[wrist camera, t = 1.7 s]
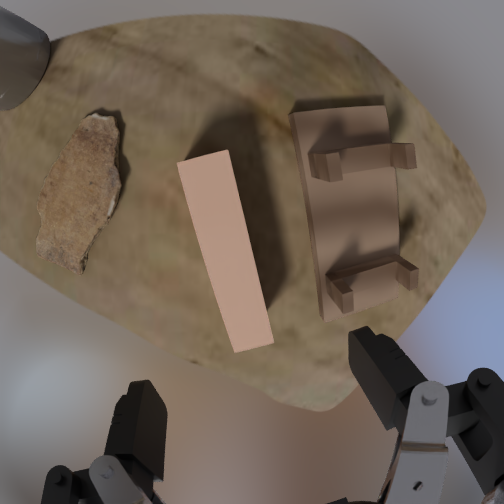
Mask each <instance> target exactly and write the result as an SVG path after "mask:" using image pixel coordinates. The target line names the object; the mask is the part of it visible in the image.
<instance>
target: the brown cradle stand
mask: <svg viewBox="0 0 504 504" xmlns="http://www.w3.org/2000/svg"><path fill="white" fill-rule="evenodd" d="M288 116H289V121H290V125H291V130H292V135H293V140H294V145H295V150H296V155H297V160H298V166H299V171H300V177H301V182H302V188H303V194H304V200H305V206H306V212H307V219H308V225H309V232H310V239H311V246H312V253H313V260H314V268H315V276H316V284H317V293H318V302H319V311H320V316H321V318H322V319H323V321H324V323H327V322H330V321H333V320H336V319H339V318H342V317H345V316H348V315H351V314H354V313H357V312H360V311H363V310H366V309H369V308H372V307H374V306H377V305H380V304H383V303H385V302H388V301H391V300H393V299H396V298H398V290H399V283H401V284H402V285H403V286H404V287H406V288H407V289H408V290H409V291H410V290H413V289H415V288H417V287H418V273H419V268H417V267H416V266H414V265H413V264H411V263H410V262H408V261H407V260H405V259H403V258H402V257H400V256H399V215H398V198H397V185H396V175H395V167H397V168H403V169H414V168H417V165H416V156H415V147H414V144H411V143H392V142H391V136H390V129H389V123H388V118H387V112H386V107H385V106H359V107H344V108H332V109H321V110H312V111H303V112H296V113H292V114H289V115H288Z"/></svg>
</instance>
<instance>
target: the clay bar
mask: <svg viewBox="0 0 504 504" xmlns="http://www.w3.org/2000/svg"><path fill="white" fill-rule="evenodd" d="M177 166H178V170H179V174H180V177H181V181H182V185H183V189H184V192H185V196H186V200H187V203H188V207H189V210H190V214H191V217H192V221H193V224H194V228H195V231H196V235H197V238H198V241H199V245H200V248H201V251H202V255H203V258H204V261H205V265H206V268H207V271H208V274H209V277H210V281H211V284H212V287H213V290H214V293H215V296H216V299H217V302H218V305H219V308H220V311H221V314H222V317H223V320H224V323H225V326H226V329H227V332H228V335H229V338H230V341H231V344H232V346H233V349H234V352H235V353H236V352H240V351H244V350H248V349H252V348H256V347H260V346H264V345H268V344H271V343H274V340H273V336H272V332H271V327H270V323H269V319H268V315H267V311H266V306H265V302H264V298H263V294H262V290H261V285H260V281H259V277H258V273H257V269H256V265H255V260H254V256H253V252H252V248H251V244H250V239H249V235H248V231H247V227H246V223H245V219H244V214H243V210H242V206H241V202H240V198H239V193H238V189H237V185H236V181H235V177H234V173H233V168H232V164H231V160H230V156H229V152H228V150H224V151H220V152H216V153H212V154H208V155H204V156H200V157H196V158H193V159H189V160H186V161H182V162H179V163H177Z"/></svg>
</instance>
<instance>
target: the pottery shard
mask: <svg viewBox="0 0 504 504" xmlns="http://www.w3.org/2000/svg"><path fill="white" fill-rule="evenodd" d="M119 142H120V131H119V129H118V122H117V119H116V118H115V117H114V116H102V115H100V114H99V113H94V114H93V115H88V116H87V117H85V118H83V119H82V120H81V123H80V125H79V127H78V129H77V130H76V131H75V132H74V134H73V135H72V136H71V140H70V141H69V142H68V144H67V145H66V146H65V147H64V148H63V150H62V151H61V152H60V156H59V157H58V160H57V161H56V162H55V163H53V164H52V166H51V169H50V172H49V174H48V175H47V177H45V181H44V185H43V186H42V188H41V191H40V193H39V199H38V201H37V211H38V212H39V214H40V216H41V223H42V225H41V227H40V229H39V234H38V236H37V237H36V252H37V256H38V257H40V258H42V259H44V260H47V261H50V262H53V263H55V264H58V265H60V266H62V267H64V268H66V269H69V270H71V271H73V272H74V273H76V274H78V275H82V274H83V270H84V268H85V265H86V262H87V253H88V252H89V249H90V248H91V246H92V244H93V242H94V240H95V239H96V238H97V236H98V235H99V234H100V233H101V231H102V229H103V228H104V227H105V226H106V225H107V224H108V223H109V220H110V219H111V217H112V212H113V210H114V209H115V207H116V205H117V202H118V198H119V193H120V187H121V186H122V183H121V179H120V178H119V176H120V172H119V170H118V169H119V158H118V156H119Z"/></svg>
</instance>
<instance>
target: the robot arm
mask: <svg viewBox="0 0 504 504" xmlns="http://www.w3.org/2000/svg"><path fill="white" fill-rule="evenodd" d="M49 55H50V41H49V38H48V36H47V34H46V33H45V32H44V31H42V30H41V29H39V28H37V27H36V26H34V25H33V24H31V23H29V22H28V21H26V20H24V19H23V18H21V17H19V16H17V15H15V14H14V13H12V12H10V11H8V10H7V9H5V8H3V7H1V6H0V110H2V111H3V110H10V109H12V108H15V107H16V106H18V105H19V104H21V103H22V102H23V101H24V100H25V99H26V98H27V97H28V96H29V95H30V94H31V93H32V92H33V90H34V89H35V87H36V86H37V84H38V83H39V81H40V79H41V77H42V76H43V74H44V71H45V69H46V66H47V64H48V60H49ZM348 345H349V365H350V368H351V371H352V373H353V374H354V376H355V378H356V379H357V381H358V383H359V384H360V386H361V388H362V389H363V391H364V393H365V394H366V396H367V398H368V400H369V401H370V403H371V405H372V406H373V408H374V410H375V411H376V413H377V415H378V417H379V418H380V420H381V422H382V423H383V425H384V427H385V429H386V430H389V429H391V428H393V427H396V429H397V430H398V432H399V433H398V436H397V441H396V444H395V449H394V452H393V456H392V459H391V463H390V466H389V470H388V473H387V476H386V478H385V481H384V483H383V486H382V488H381V491H380V494H379V497H378V499H377V502H371V501H353V502H348V501H347V498H346V497H345V498H342V499H340V500H337V501H334V502H331V503H327V504H439V500H440V496H441V492H442V487H443V483H444V478H445V472H446V467H447V461H448V447H446V446H445V438H446V437H448V436H452V438H453V440H454V442H455V443H456V445H457V446H458V448H459V450H460V451H461V453H462V455H463V457H464V458H465V460H466V462H467V464H468V465H469V467H470V469H471V471H472V472H473V474H474V476H475V478H476V479H477V481H478V483H479V485H480V487H481V489H482V491H483V493H484V495H485V497H484V498H483V500H482V502H481V504H504V382H503V381H502V380H501V378H500V377H499V376H498V375H497V374H496V373H495V372H494V371H493V370H491V369H488V368H478V369H475V370H474V371H472V372H471V373H470V375H469V377H468V379H467V381H465V382H461V383H457V384H453V385H450V386H444V385H443V384H441V383H439V382H436V381H428V380H427V379H426V378H425V377H424V375H423V374H422V373H421V372H420V371H419V369H418V368H417V367H416V366H415V364H414V363H413V362H412V361H411V360H410V358H409V357H408V356H407V355H405V353H404V352H403V350H402V349H400V347H399V346H398V345H397V343H396V342H395V341H394V340H393V339H392V338H390V337H388V336H386V335H384V334H379V335H375V334H374V333H373V331H372V330H371V329H370V328H369V327H368V326H364V327H362V328H359V329H356V330H353V331H350V332H349V334H348ZM113 415H114V417H113V418H112V422H111V423H112V425H111V426H110V430H109V434H108V439H107V443H106V447H105V452H104V455H103V456H100V457H98V458H96V459H95V460H94V461H93V462H92V464H91V466H90V468H89V469H84V470H80V471H75V472H72V471H71V470H69V469H68V468H67V467H66V466H62V465H58V466H55V467H53V468H52V469H51V470H50V471H49V472H48V474H47V476H46V481H45V485H44V490H43V495H42V501H41V504H166V503H165V502H164V501H163V500H162V498H161V497H160V496H159V495H158V494H157V493H156V491H155V490H154V489H153V482H160V481H162V482H163V477H164V457H165V441H166V429H167V409H166V406H165V404H164V402H163V400H162V399H161V397H160V396H159V394H158V393H157V391H156V389H155V388H154V386H153V385H152V383H151V382H150V381H149V380H142V381H134V382H131V383H130V385H129V388H128V392H127V395H122V397H121V398H120V400H119V401H118V402H117V404H116V406H115V410H114V414H113Z"/></svg>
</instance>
